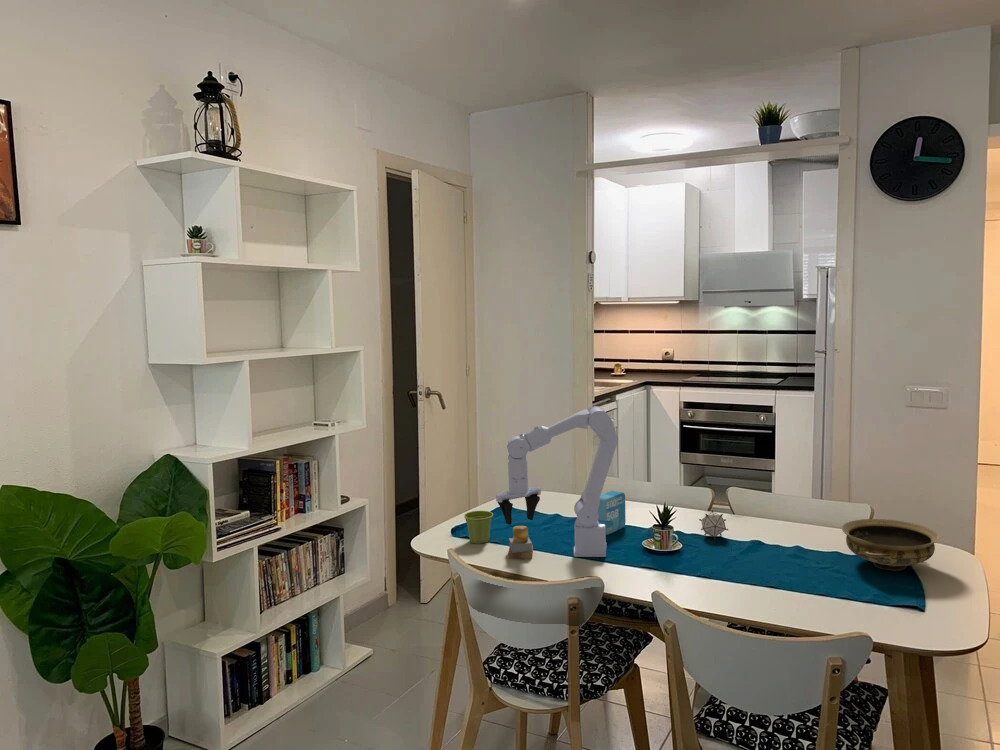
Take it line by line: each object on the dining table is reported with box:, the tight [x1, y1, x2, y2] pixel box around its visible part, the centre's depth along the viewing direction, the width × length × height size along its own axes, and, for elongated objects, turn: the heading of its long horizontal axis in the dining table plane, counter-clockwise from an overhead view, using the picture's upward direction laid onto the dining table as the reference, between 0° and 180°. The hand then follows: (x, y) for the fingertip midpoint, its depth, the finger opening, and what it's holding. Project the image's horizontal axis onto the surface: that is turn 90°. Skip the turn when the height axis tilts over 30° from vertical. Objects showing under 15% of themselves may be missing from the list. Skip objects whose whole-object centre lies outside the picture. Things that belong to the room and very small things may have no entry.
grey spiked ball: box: [698, 509, 729, 540], centre depth 238 cm, size 9×8×10 cm
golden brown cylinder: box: [512, 525, 529, 543], centre depth 227 cm, size 4×4×4 cm
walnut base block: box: [507, 544, 534, 560], centre depth 228 cm, size 7×7×2 cm
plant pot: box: [463, 510, 494, 545], centre depth 241 cm, size 9×9×9 cm
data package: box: [598, 490, 626, 536], centre depth 248 cm, size 12×4×12 cm, turn 138°
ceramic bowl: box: [841, 518, 940, 572], centre depth 209 cm, size 30×24×10 cm
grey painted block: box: [508, 536, 533, 553], centre depth 228 cm, size 6×6×2 cm
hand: (519, 521), depth 227 cm, fingers open, 7 cm apart
